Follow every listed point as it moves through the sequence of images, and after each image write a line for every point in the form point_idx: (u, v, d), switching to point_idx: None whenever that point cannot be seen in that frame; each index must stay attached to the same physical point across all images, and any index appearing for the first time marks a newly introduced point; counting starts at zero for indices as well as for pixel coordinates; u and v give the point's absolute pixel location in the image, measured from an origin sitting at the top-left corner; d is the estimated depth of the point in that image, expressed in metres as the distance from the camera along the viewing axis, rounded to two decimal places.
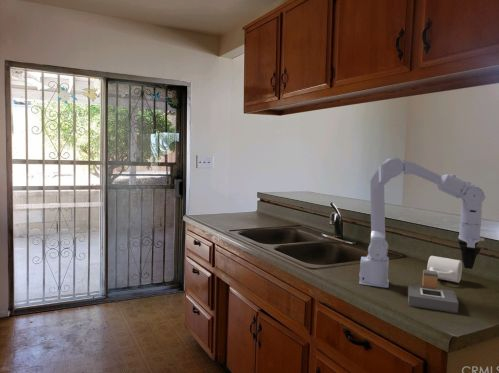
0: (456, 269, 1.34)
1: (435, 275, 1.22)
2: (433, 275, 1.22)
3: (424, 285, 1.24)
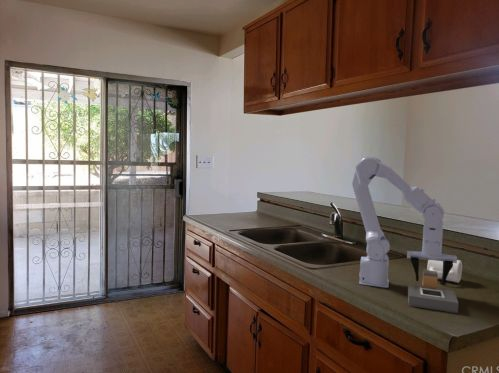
0: (456, 269, 1.34)
1: (435, 275, 1.22)
2: (433, 275, 1.22)
3: (424, 285, 1.24)
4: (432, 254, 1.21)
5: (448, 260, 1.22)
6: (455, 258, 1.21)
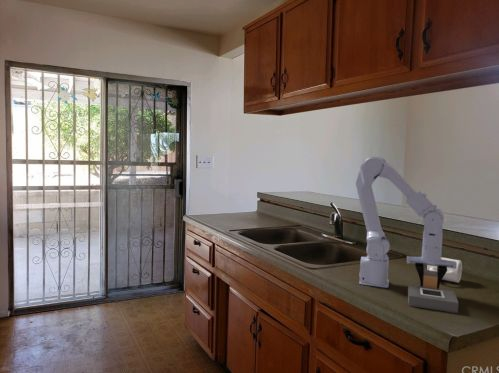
0: (456, 269, 1.34)
1: (435, 275, 1.22)
2: (433, 275, 1.22)
3: (424, 285, 1.24)
4: (432, 260, 1.22)
5: (447, 266, 1.22)
6: (454, 264, 1.21)
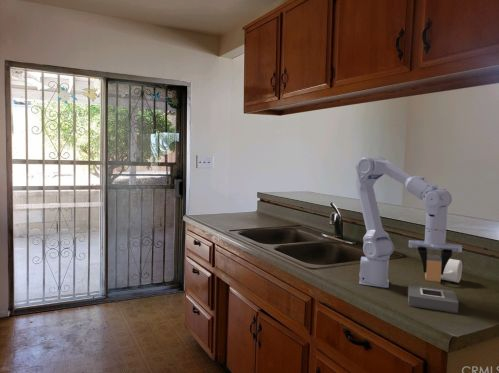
0: (456, 269, 1.34)
1: (439, 259, 1.14)
2: (437, 259, 1.15)
3: (427, 270, 1.16)
4: (435, 243, 1.14)
5: (452, 249, 1.14)
6: (460, 247, 1.13)
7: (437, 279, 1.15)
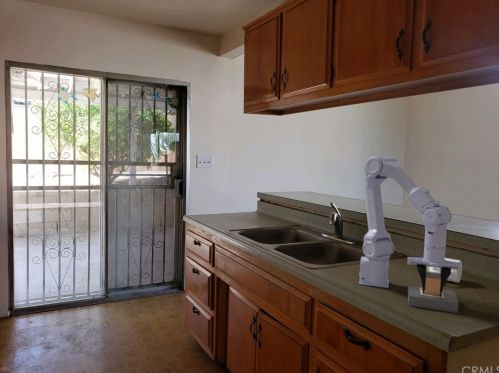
0: None
1: (438, 277, 1.13)
2: (436, 277, 1.14)
3: (426, 288, 1.15)
4: (434, 261, 1.13)
5: (452, 267, 1.13)
6: (459, 265, 1.12)
7: None
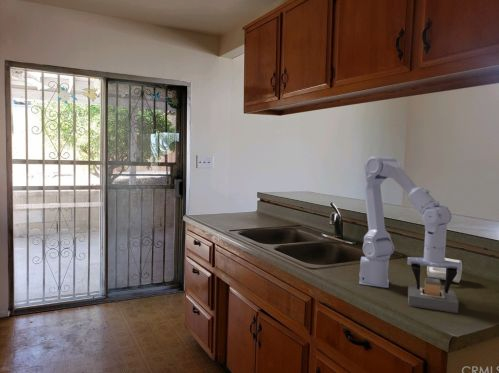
0: None
1: (438, 284, 1.14)
2: (436, 284, 1.14)
3: (426, 294, 1.15)
4: (434, 261, 1.13)
5: (452, 267, 1.13)
6: (459, 265, 1.12)
7: None
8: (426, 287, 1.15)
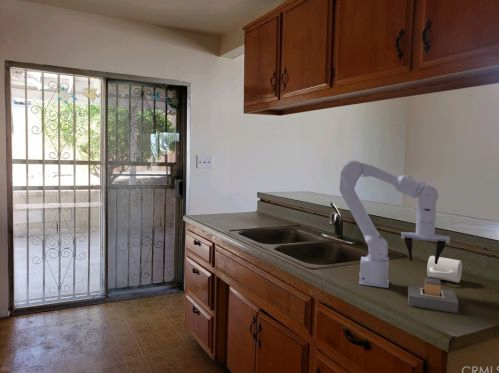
0: (456, 269, 1.34)
1: (438, 284, 1.14)
2: (436, 284, 1.14)
3: (426, 294, 1.15)
4: (425, 234, 1.24)
5: (441, 240, 1.25)
6: (448, 238, 1.24)
7: None
8: (426, 287, 1.15)
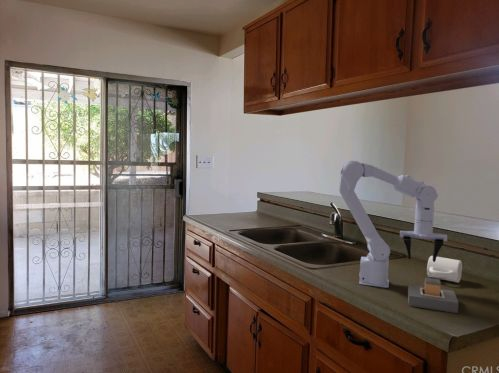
0: (456, 269, 1.34)
1: (438, 284, 1.14)
2: (436, 284, 1.14)
3: (426, 294, 1.15)
4: (423, 233, 1.27)
5: (439, 238, 1.28)
6: (445, 236, 1.26)
7: None
8: (426, 287, 1.15)
